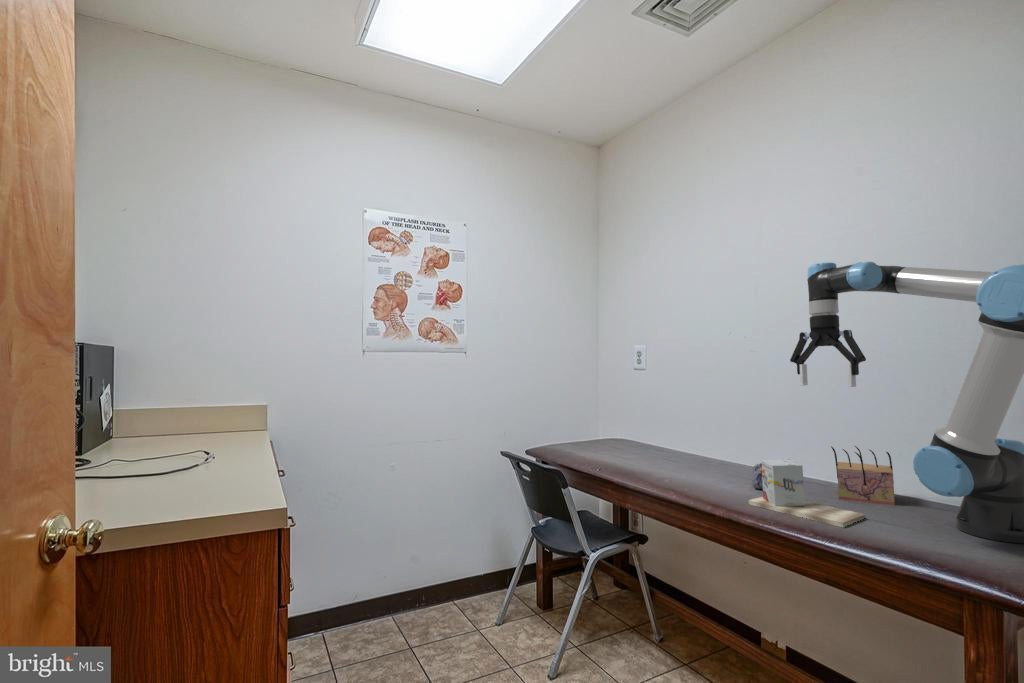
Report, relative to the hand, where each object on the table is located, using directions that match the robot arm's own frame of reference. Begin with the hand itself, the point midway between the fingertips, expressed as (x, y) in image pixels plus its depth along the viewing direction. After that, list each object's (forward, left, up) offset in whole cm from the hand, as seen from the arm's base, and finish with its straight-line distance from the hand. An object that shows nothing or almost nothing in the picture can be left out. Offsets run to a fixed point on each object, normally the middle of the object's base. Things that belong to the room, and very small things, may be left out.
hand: (827, 386), depth 151 cm
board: (+1, +14, -35) cm, 37 cm away
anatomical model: (-2, -14, -35) cm, 38 cm away
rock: (+22, -2, -35) cm, 41 cm away
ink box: (+7, +14, -34) cm, 37 cm away
